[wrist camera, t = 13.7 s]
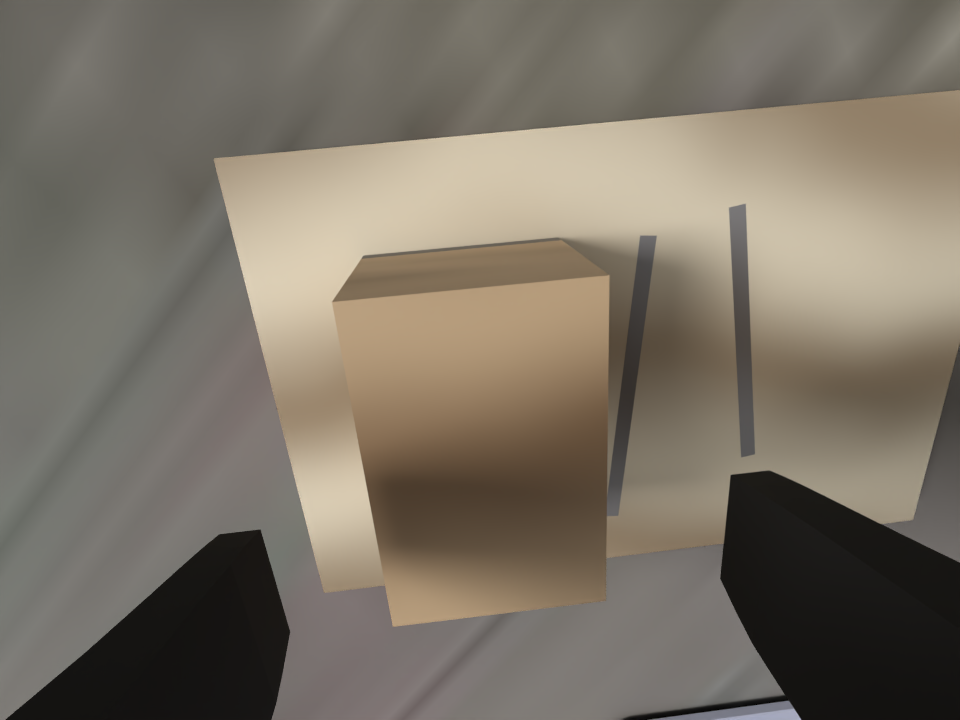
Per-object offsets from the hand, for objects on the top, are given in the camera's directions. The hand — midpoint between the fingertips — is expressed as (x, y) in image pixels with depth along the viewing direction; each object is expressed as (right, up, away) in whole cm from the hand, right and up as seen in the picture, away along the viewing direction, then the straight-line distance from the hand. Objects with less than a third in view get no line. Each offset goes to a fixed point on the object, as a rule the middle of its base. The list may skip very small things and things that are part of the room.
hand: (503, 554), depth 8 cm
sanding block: (0, +2, +5) cm, 6 cm away
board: (+3, +3, +7) cm, 8 cm away
